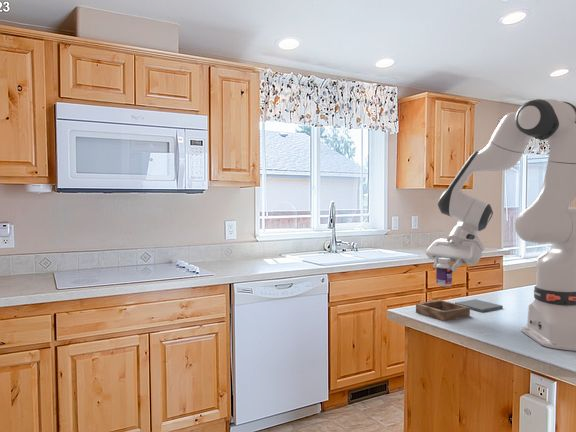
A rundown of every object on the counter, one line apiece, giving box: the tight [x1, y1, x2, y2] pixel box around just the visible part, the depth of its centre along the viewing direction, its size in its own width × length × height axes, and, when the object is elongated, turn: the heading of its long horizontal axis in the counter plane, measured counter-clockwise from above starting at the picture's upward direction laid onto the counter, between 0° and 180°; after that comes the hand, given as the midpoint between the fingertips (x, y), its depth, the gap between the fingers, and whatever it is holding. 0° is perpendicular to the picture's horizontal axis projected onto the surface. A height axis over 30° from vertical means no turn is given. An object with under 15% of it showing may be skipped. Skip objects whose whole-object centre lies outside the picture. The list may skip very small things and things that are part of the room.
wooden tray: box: [415, 299, 471, 321], centre depth 157 cm, size 13×13×3 cm
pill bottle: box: [435, 258, 453, 287], centre depth 157 cm, size 5×5×10 cm
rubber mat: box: [454, 298, 503, 313], centre depth 167 cm, size 12×12×1 cm
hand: (443, 269), depth 156 cm, fingers closed on pill bottle, 5 cm apart
